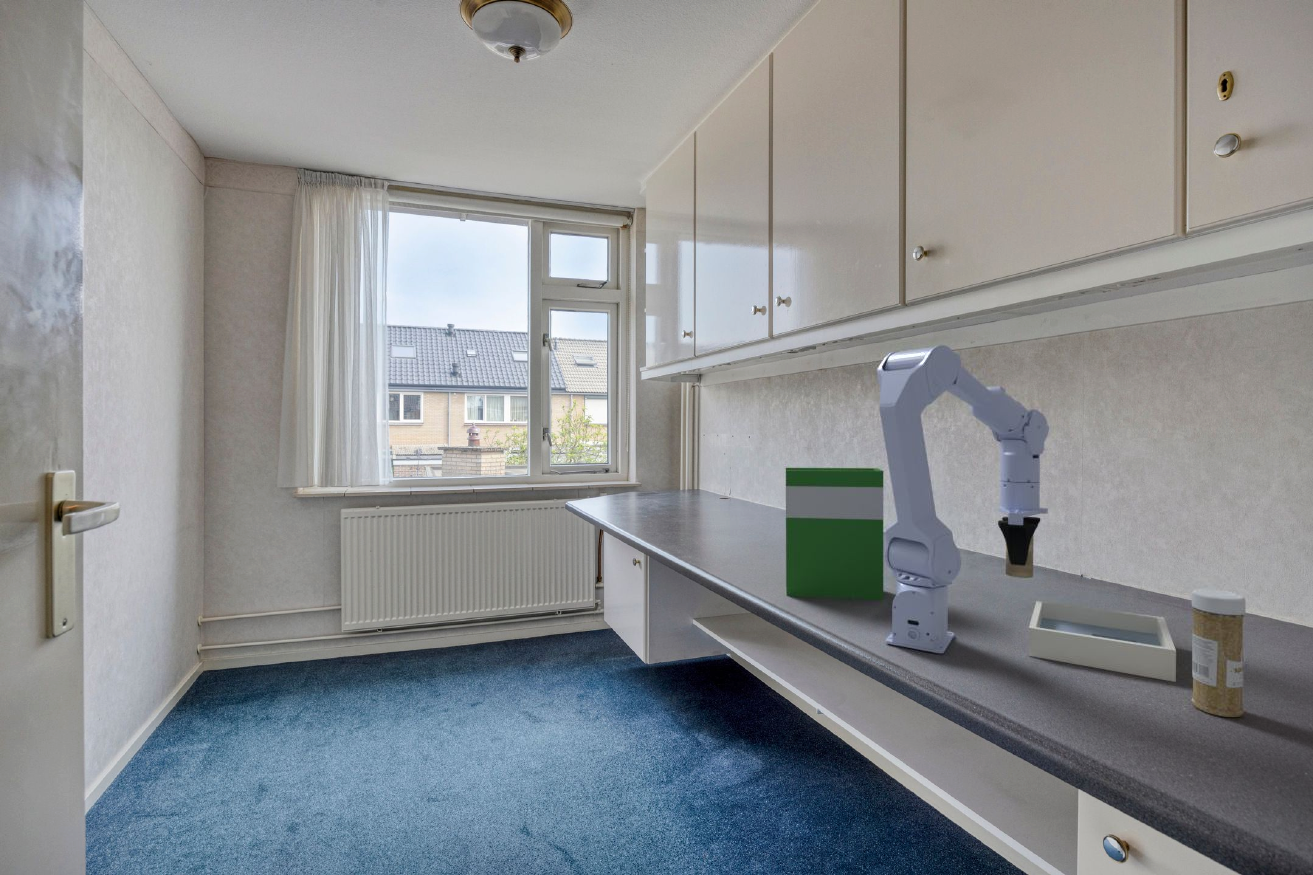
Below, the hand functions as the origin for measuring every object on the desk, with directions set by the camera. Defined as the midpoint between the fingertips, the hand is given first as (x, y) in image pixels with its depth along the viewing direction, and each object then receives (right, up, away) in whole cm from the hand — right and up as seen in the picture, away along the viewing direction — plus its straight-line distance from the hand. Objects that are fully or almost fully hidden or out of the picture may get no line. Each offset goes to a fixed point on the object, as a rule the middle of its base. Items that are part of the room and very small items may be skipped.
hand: (1019, 562), depth 105 cm
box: (+3, -10, -15) cm, 18 cm away
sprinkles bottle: (+3, -10, -33) cm, 35 cm away
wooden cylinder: (0, -2, 0) cm, 2 cm away
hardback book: (-27, -9, +17) cm, 33 cm away
